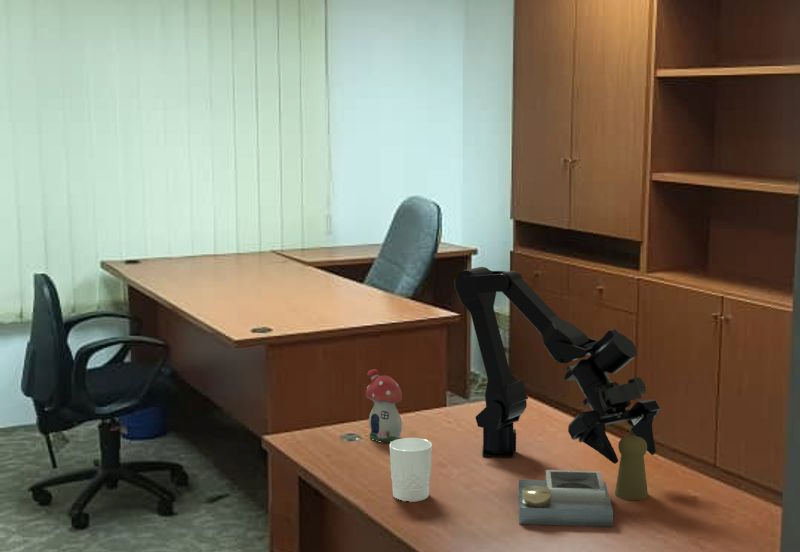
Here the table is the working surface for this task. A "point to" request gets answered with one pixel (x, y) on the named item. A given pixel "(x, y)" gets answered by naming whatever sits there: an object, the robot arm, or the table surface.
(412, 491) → the white cup
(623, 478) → the olive knobbed post
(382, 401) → the decorative ornament
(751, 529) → the table surface
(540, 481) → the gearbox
